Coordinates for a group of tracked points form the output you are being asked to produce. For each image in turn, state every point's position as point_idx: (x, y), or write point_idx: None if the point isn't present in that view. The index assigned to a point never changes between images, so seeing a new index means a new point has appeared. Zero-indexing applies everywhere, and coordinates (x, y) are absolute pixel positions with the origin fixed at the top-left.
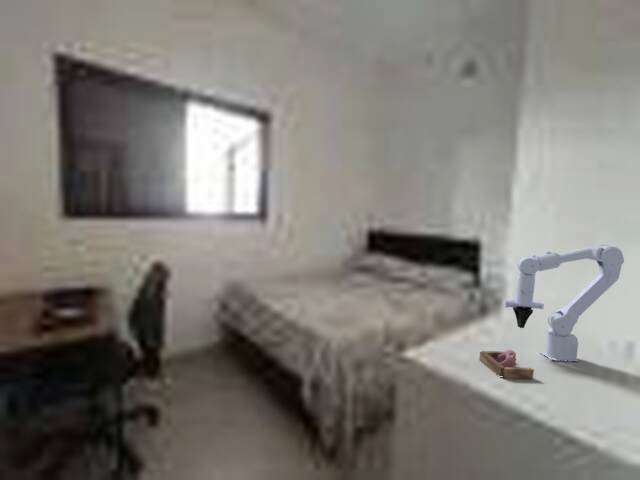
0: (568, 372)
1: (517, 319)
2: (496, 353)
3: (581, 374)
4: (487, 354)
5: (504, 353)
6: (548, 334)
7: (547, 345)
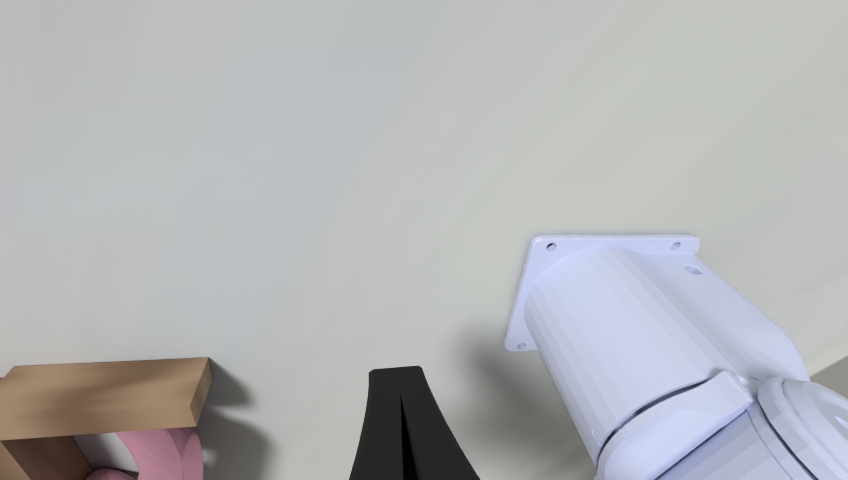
0: (468, 438)
1: (364, 464)
2: (93, 430)
3: (509, 446)
4: (11, 463)
5: (139, 463)
6: (595, 427)
7: (554, 348)
